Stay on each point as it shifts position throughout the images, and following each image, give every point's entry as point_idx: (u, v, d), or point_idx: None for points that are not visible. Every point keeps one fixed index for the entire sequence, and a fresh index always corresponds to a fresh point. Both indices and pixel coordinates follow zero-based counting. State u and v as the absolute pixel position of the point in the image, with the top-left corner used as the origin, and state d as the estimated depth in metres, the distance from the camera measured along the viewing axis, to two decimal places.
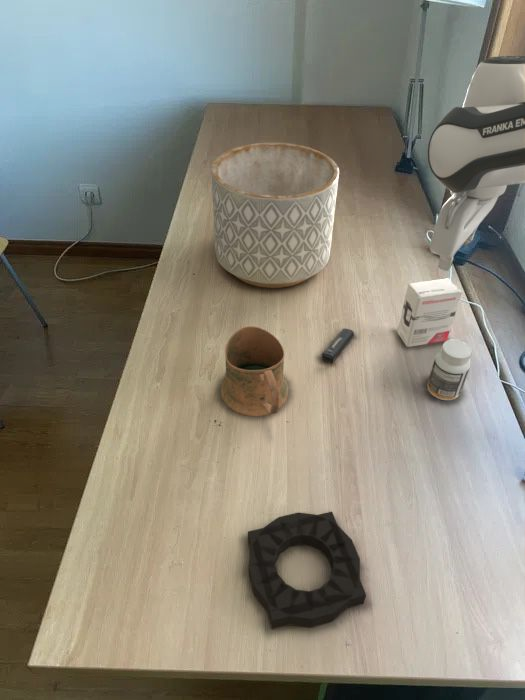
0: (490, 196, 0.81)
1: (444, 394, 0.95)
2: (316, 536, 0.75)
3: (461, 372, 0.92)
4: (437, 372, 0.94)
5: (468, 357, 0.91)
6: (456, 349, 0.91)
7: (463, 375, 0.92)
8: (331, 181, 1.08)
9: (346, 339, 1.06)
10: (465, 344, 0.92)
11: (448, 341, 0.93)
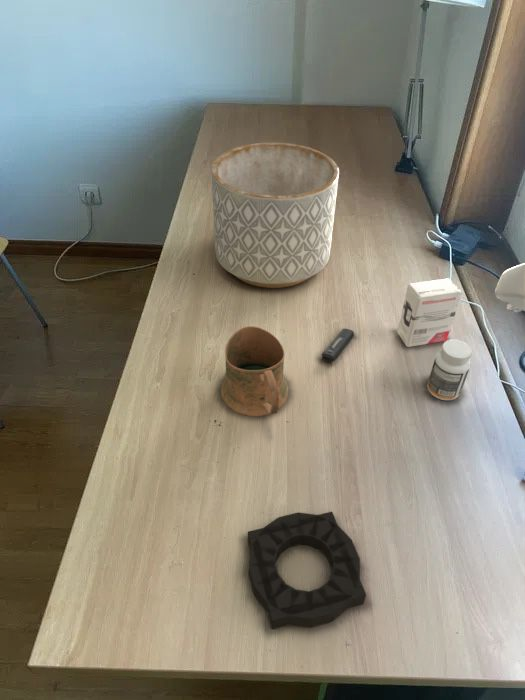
0: None
1: (444, 394, 0.95)
2: (316, 536, 0.75)
3: (461, 372, 0.92)
4: (437, 372, 0.94)
5: (468, 357, 0.91)
6: (456, 349, 0.91)
7: (463, 375, 0.92)
8: (331, 181, 1.08)
9: (346, 339, 1.06)
10: (465, 344, 0.92)
11: (448, 341, 0.93)
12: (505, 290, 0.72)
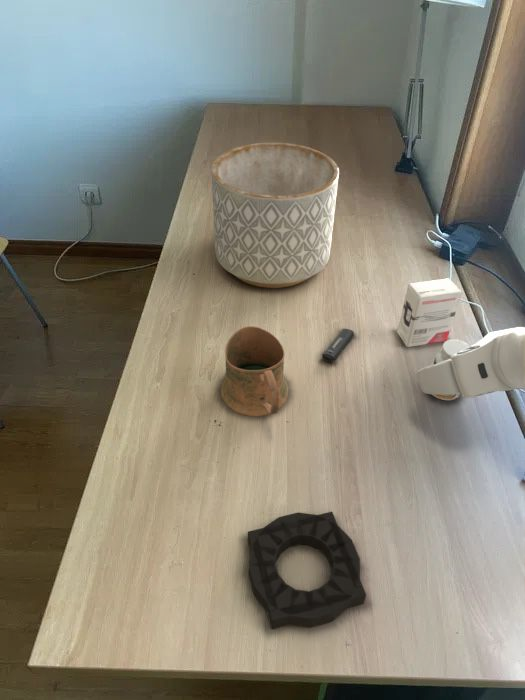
0: None
1: None
2: (316, 536, 0.75)
3: None
4: None
5: None
6: (456, 349, 0.91)
7: None
8: (331, 181, 1.08)
9: (346, 339, 1.06)
10: (465, 344, 0.92)
11: (448, 341, 0.93)
12: (435, 391, 0.84)
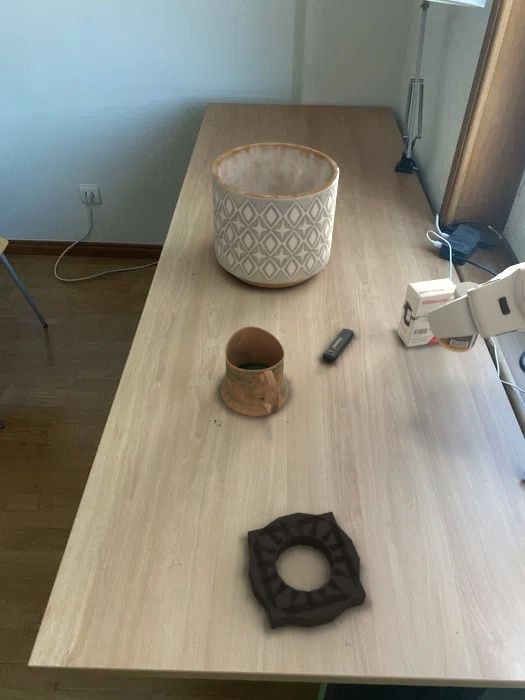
0: None
1: (456, 344, 0.85)
2: (316, 536, 0.75)
3: None
4: None
5: None
6: None
7: None
8: (331, 181, 1.08)
9: (346, 339, 1.06)
10: None
11: (461, 284, 0.83)
12: (448, 334, 0.74)
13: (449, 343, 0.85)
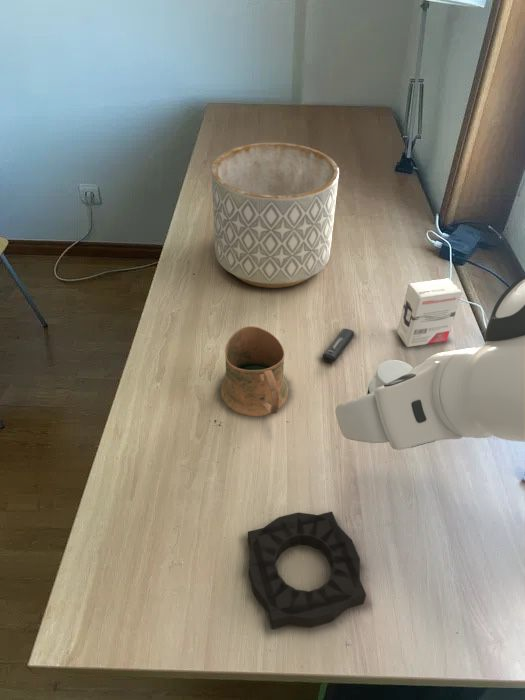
0: None
1: None
2: (316, 536, 0.75)
3: None
4: None
5: None
6: (394, 374, 0.67)
7: None
8: (331, 181, 1.08)
9: (347, 339, 1.06)
10: (408, 367, 0.68)
11: (385, 363, 0.68)
12: (356, 437, 0.60)
13: None
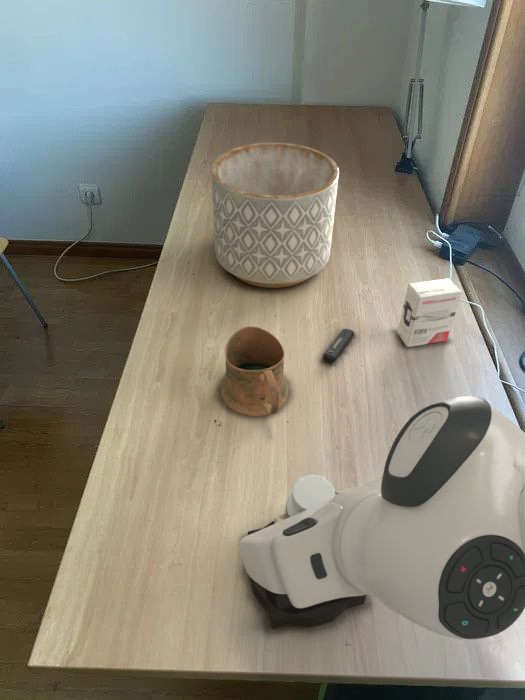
0: None
1: None
2: None
3: None
4: None
5: None
6: (311, 494, 0.61)
7: None
8: (331, 181, 1.08)
9: (347, 339, 1.06)
10: (327, 484, 0.62)
11: (303, 479, 0.62)
12: (258, 581, 0.53)
13: None
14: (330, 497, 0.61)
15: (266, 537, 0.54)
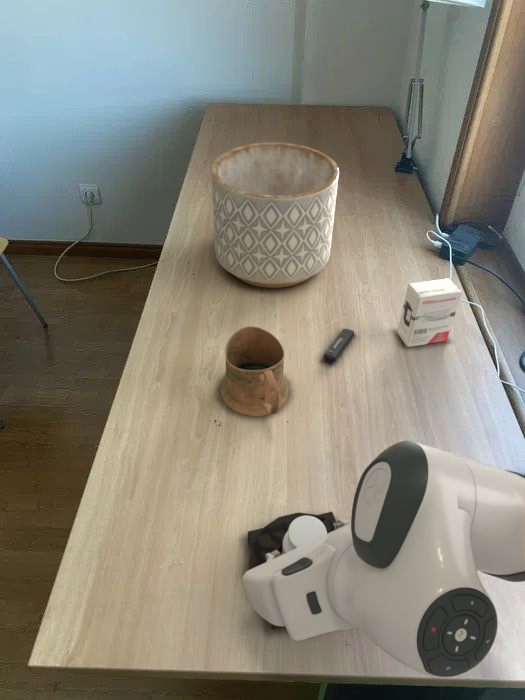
0: None
1: None
2: None
3: None
4: None
5: None
6: (305, 534, 0.67)
7: None
8: (331, 181, 1.08)
9: (347, 339, 1.06)
10: (320, 525, 0.68)
11: (298, 519, 0.68)
12: (260, 613, 0.59)
13: None
14: None
15: (267, 572, 0.60)
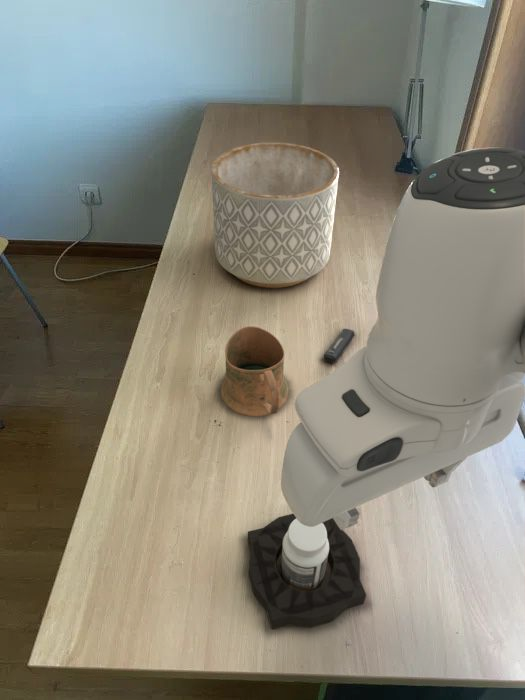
0: None
1: (297, 585, 0.70)
2: None
3: (313, 565, 0.67)
4: (285, 560, 0.69)
5: (320, 548, 0.66)
6: (305, 535, 0.67)
7: (317, 567, 0.68)
8: (331, 181, 1.08)
9: (347, 339, 1.06)
10: (320, 525, 0.68)
11: None
12: (306, 502, 0.38)
13: (290, 581, 0.71)
14: (322, 537, 0.66)
15: None
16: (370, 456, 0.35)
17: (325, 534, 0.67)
